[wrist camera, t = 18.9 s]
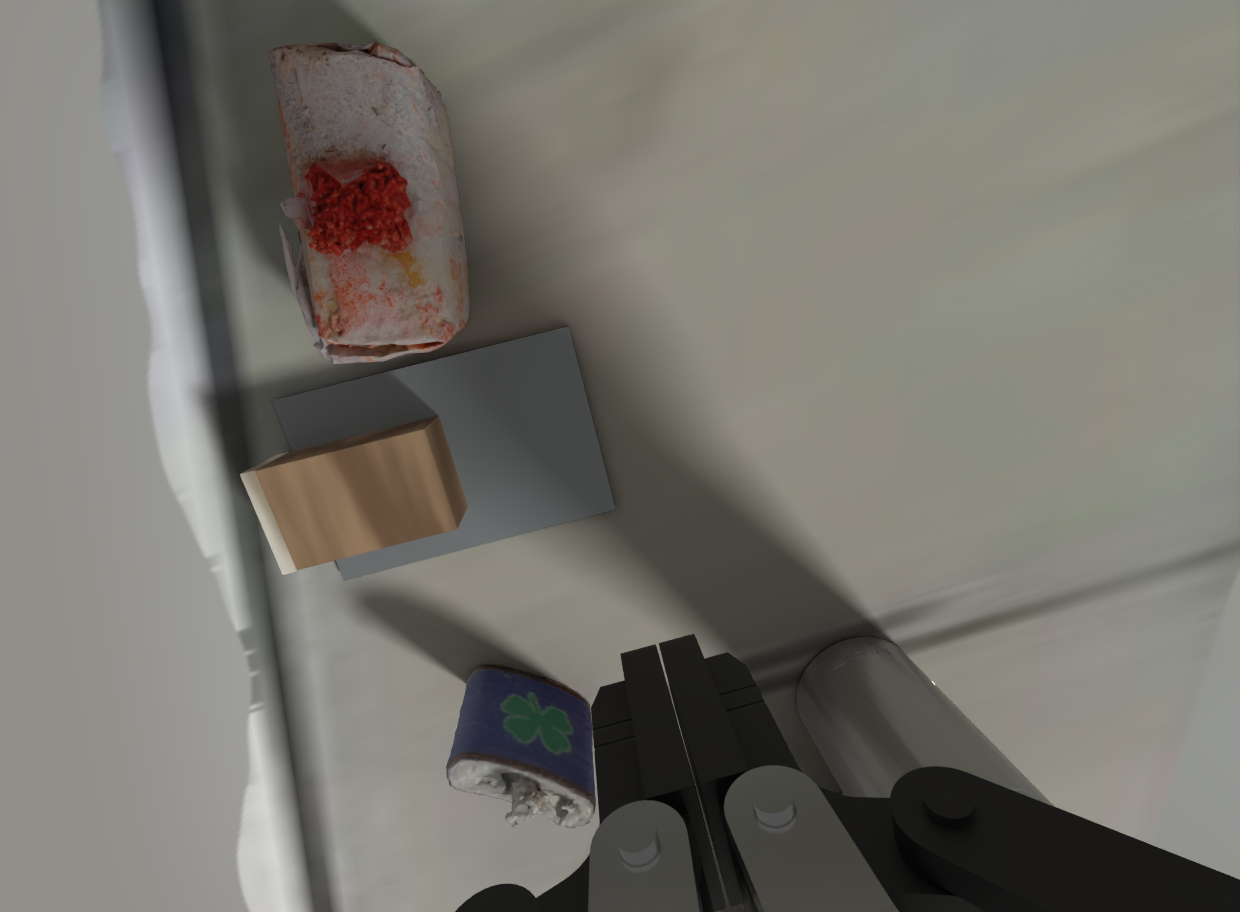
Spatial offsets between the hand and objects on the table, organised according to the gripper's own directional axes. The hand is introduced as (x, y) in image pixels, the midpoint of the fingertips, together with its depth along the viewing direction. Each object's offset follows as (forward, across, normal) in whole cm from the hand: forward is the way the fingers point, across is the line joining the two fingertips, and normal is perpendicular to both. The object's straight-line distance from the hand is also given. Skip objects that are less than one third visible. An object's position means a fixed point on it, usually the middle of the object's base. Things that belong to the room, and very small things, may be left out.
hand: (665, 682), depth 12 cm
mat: (+27, +9, 0) cm, 28 cm away
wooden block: (+24, +9, 0) cm, 26 cm away
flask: (+27, +9, +18) cm, 34 cm away
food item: (+27, +8, -13) cm, 31 cm away
